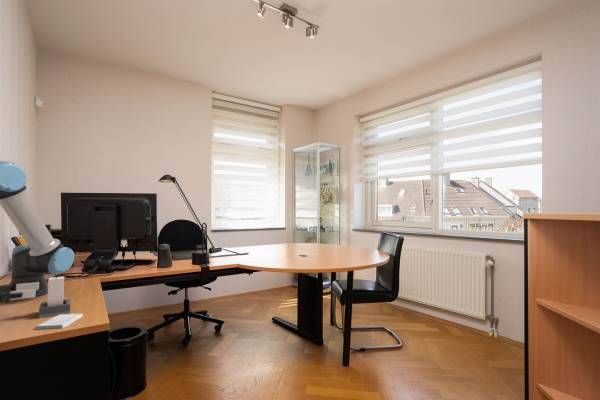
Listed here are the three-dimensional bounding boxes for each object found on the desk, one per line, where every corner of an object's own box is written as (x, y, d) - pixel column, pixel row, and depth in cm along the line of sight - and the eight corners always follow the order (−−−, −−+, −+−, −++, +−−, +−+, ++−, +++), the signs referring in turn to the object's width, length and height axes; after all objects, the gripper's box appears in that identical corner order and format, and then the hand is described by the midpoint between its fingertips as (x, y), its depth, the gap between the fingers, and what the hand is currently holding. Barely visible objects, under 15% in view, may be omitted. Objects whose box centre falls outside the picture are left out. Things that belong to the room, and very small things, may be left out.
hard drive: (62, 325, 102) (83, 313, 114) (34, 326, 101) (58, 314, 113) (62, 330, 102) (82, 317, 114) (34, 331, 101) (58, 318, 113)
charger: (48, 309, 118) (49, 277, 119) (62, 307, 121) (64, 275, 122) (47, 312, 115) (48, 279, 115) (62, 310, 117) (63, 277, 118)
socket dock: (41, 311, 119) (41, 302, 119) (70, 307, 124) (70, 298, 124) (38, 318, 112) (39, 308, 112) (69, 313, 117) (70, 304, 117)
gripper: (-37, 301, 112) (39, 292, 125) (-61, 320, 92) (33, 307, 105) (-36, 280, 113) (40, 273, 125) (-60, 294, 93) (34, 285, 105)
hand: (37, 289), depth 115 cm, fingers open, 13 cm apart
